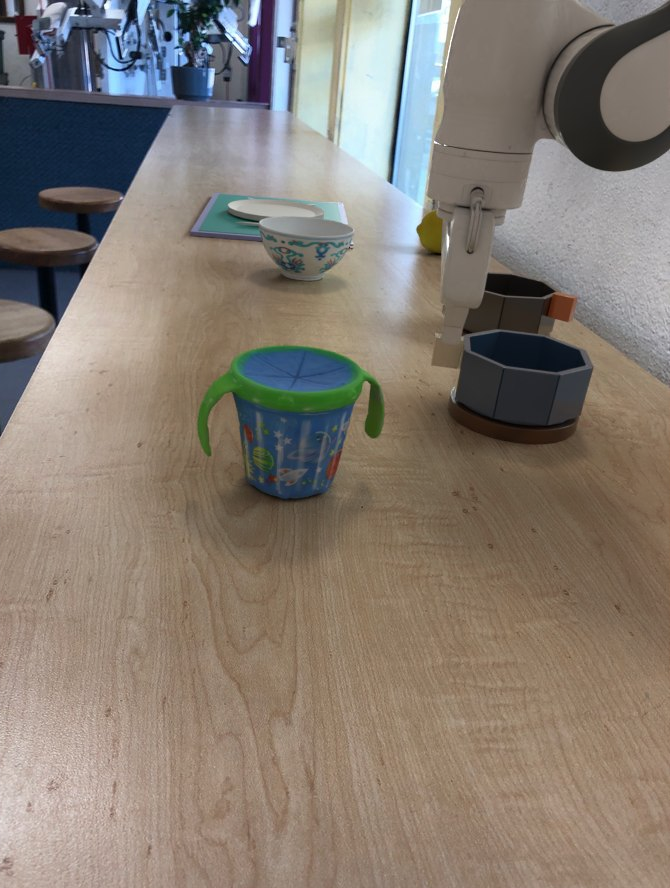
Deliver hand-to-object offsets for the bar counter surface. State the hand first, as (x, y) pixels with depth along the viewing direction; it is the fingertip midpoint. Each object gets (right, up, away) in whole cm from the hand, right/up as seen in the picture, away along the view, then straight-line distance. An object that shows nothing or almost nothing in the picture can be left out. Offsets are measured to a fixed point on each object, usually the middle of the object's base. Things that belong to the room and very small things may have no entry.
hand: (449, 328), depth 79 cm
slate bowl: (+6, -7, +3) cm, 9 cm away
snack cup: (-16, -16, -12) cm, 26 cm away
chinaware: (-14, +19, +48) cm, 54 cm away
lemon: (+12, +29, +71) cm, 77 cm away
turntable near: (+7, -9, +3) cm, 12 cm away
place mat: (-20, +42, +87) cm, 99 cm away
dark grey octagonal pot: (+13, +5, +25) cm, 29 cm away
